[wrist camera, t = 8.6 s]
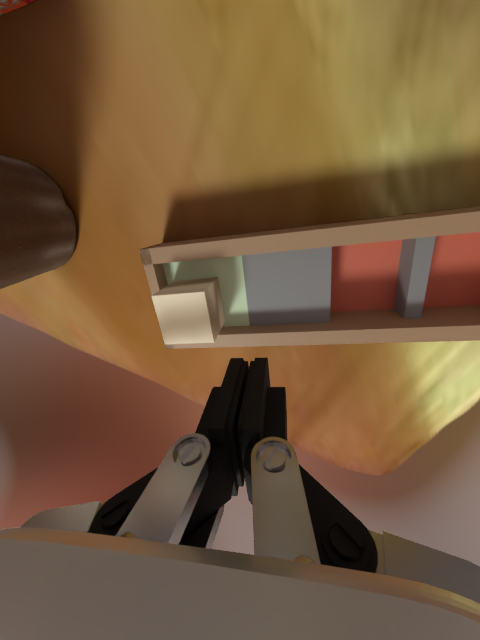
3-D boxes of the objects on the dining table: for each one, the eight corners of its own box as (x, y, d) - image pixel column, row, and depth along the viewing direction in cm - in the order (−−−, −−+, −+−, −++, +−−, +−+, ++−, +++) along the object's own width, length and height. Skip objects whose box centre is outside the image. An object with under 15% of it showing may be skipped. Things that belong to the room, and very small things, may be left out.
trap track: (162, 243, 28) (139, 249, 24) (523, 201, 22) (586, 199, 17) (182, 329, 33) (166, 348, 28) (489, 316, 26) (532, 338, 22)
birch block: (173, 281, 27) (151, 296, 22) (217, 277, 26) (204, 291, 21) (183, 323, 29) (165, 344, 24) (225, 320, 28) (214, 342, 23)
